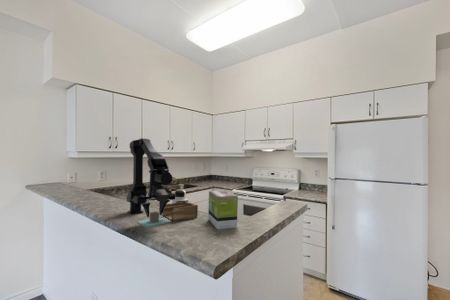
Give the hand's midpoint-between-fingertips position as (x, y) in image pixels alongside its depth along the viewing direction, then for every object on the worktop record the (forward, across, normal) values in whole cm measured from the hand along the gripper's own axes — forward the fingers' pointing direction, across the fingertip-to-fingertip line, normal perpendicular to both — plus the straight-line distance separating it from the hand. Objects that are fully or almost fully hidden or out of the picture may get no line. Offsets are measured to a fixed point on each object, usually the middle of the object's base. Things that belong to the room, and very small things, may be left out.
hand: (154, 216), depth 96 cm
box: (+3, +14, 0) cm, 14 cm away
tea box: (+3, +24, -21) cm, 32 cm away
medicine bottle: (+3, +20, +10) cm, 23 cm away
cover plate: (+4, 0, 0) cm, 4 cm away
